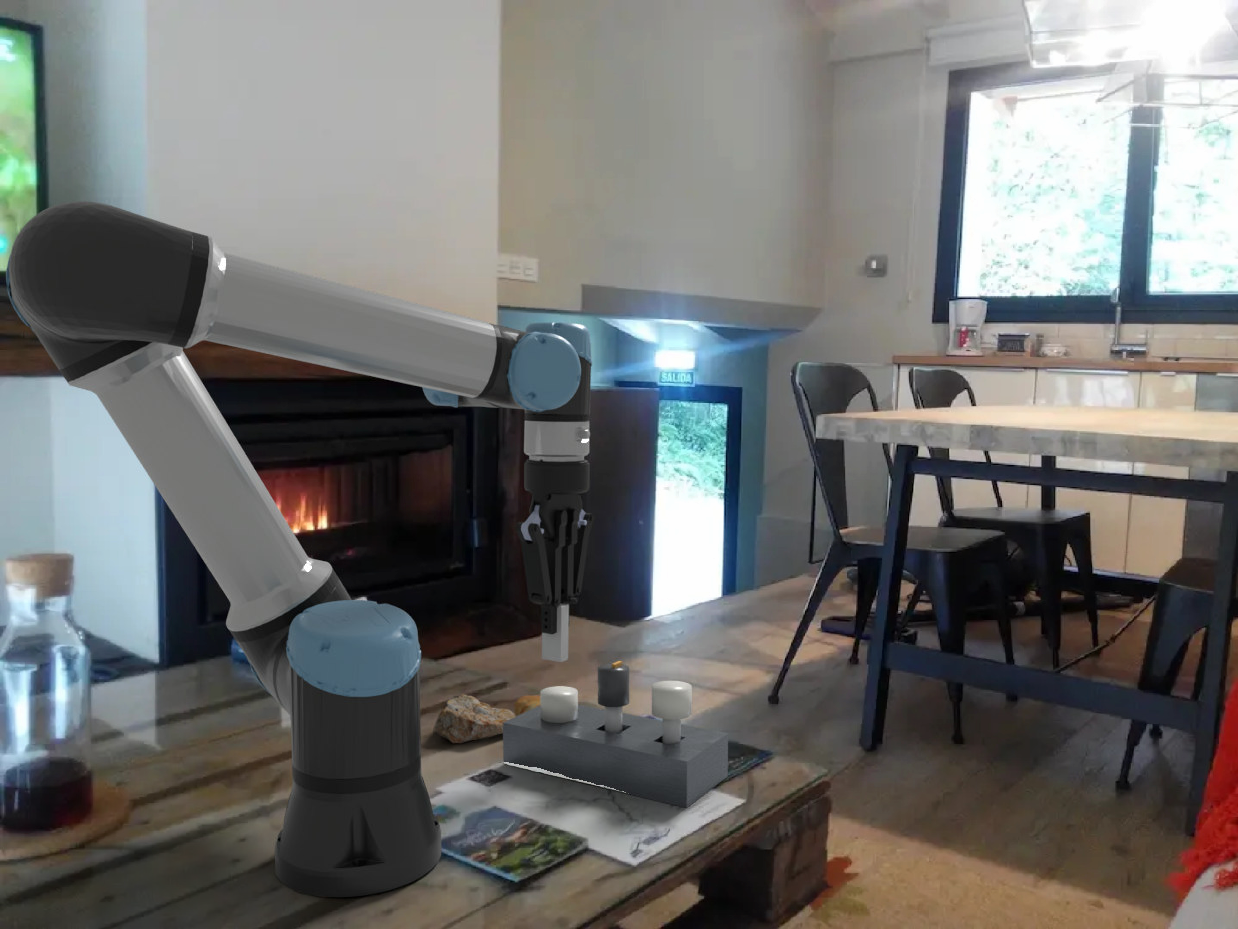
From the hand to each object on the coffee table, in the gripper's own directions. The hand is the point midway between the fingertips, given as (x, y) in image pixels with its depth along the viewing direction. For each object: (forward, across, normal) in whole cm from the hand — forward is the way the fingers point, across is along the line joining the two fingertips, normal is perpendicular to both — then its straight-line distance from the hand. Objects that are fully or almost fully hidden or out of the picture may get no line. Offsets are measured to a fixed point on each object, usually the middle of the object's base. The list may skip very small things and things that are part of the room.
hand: (554, 659), depth 123 cm
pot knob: (+9, +1, -8) cm, 12 cm away
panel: (+12, +1, -8) cm, 14 cm away
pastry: (+12, +10, +9) cm, 18 cm away
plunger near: (+8, +1, -15) cm, 18 cm away
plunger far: (+12, +1, 0) cm, 12 cm away
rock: (+13, +2, +14) cm, 19 cm away
